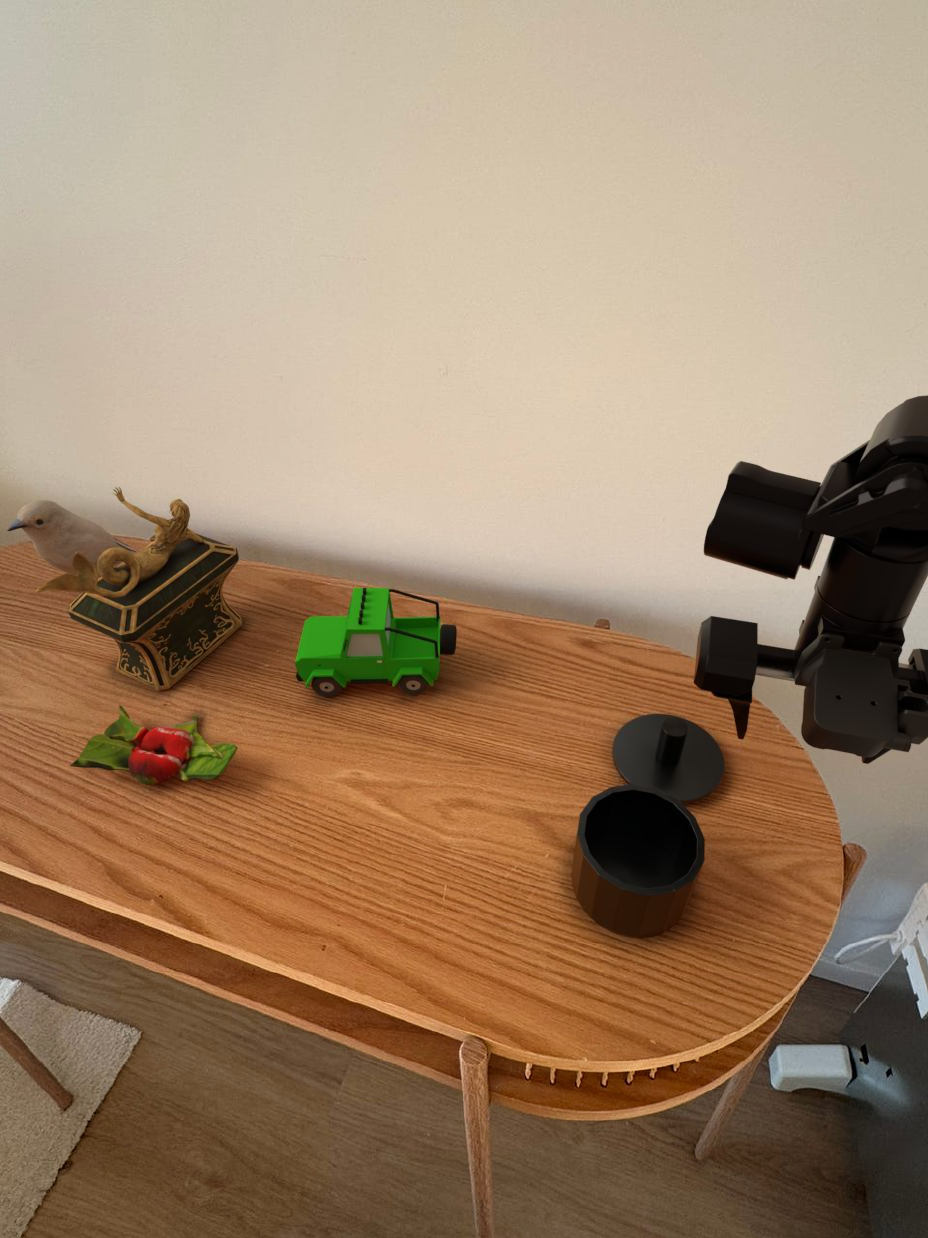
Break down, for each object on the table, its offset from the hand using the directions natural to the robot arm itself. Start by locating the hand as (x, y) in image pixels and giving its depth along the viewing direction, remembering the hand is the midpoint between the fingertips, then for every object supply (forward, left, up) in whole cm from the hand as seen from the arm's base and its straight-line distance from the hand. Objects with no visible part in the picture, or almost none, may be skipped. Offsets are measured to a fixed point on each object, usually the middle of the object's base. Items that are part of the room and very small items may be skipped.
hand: (801, 747), depth 58 cm
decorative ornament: (+51, +26, -12) cm, 58 cm away
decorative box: (+64, +17, -12) cm, 67 cm away
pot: (+8, +12, -12) cm, 18 cm away
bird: (+81, +15, -12) cm, 83 cm away
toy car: (+42, +5, -12) cm, 44 cm away
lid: (+10, -2, -11) cm, 15 cm away
